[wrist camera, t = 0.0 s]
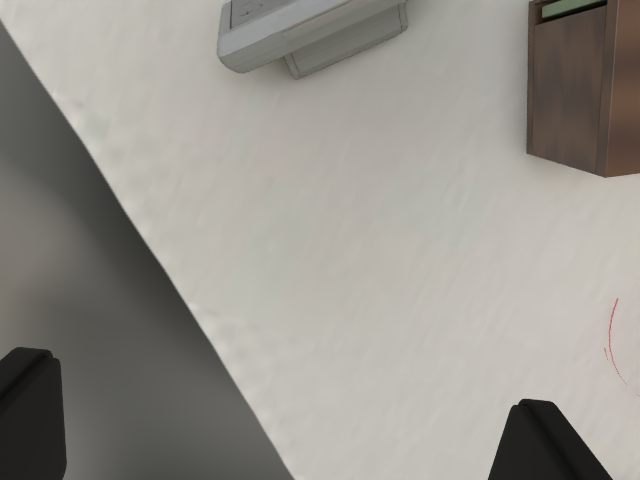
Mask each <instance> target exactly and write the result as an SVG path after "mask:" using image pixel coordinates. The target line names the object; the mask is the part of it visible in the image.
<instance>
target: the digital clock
mask: <svg viewBox="0 0 640 480" xmlns="http://www.w3.org/2000/svg"><path fill="white" fill-rule="evenodd" d="M405 1H407V0H231V1H229V2H228V3H226V4H225V5H224V6H223V7H222V12H221V19H220V26H219V34H218V42H217V56H218V57H219V59H220V61H221V62H222V63H223V64H224V65H225V66H226V67H227V68H229V69H230V70H232V71H235V72H237V73H246V72H249V71H252V70H254V69H256V68H258V67H261V66H263V65H265V64H267V63H270V62H272V61H274V60H276V59H279V58H281V57H283V56H284V57H285V59H286V62H287V64H288V66H289V68H290V71H291V73H292V75H293V77H294V79H296V80H298V79H300V78H302V77H304V76H307V75H309V74H311V73H313V72H316V71H318V70H320V69H322V68H325V67H327V66H329V65H331V64H334V63H336V62H338V61H340V60H343V59H345V58H347V57H349V56H352V55H354V54H356V53H359V52H361V51H363V50H365V49H368V48H370V47H372V46H374V45H377V44H379V43H381V42H383V41H386V40H388V39H390V38H392V37H395V36H397V35H399V34H400V33H402V32H403V31H405V30H406V29H407V27H408V22H407V16H406V5H405Z"/></svg>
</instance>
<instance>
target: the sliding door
mask: <svg viewBox="0 0 640 480" xmlns="http://www.w3.org/2000/svg"><path fill="white" fill-rule="evenodd" d="M606 5H607V0H561V1H558V2H555V3H552V4H549V5H546V6H544V7H542V18H548V17H555V16H562V15H569V14H576V13H581V12H585V11H588V10H592V9H595V8H599V7H603V6H606Z"/></svg>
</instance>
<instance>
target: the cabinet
mask: <svg viewBox="0 0 640 480" xmlns="http://www.w3.org/2000/svg"><path fill="white" fill-rule="evenodd" d="M558 1H561V0H533V1H531V2H529V45H528V108H527V154H530V155H533V156H537V157H540V158H543V159H546V160H550V161H553V162H556V163H559V164H563V165H566V166H569V167H572V168H576V169H579V170H582V171H585V172H589V173H592V174H595V175H598V176H601V177H605V178H607V177H614V176H622V175H630V174H637V173H640V0H607V5H606V6H603V7H599V8H595V9H592V10H588V11H585V12H581V13H576V14H569V15H562V16H555V17H548V18H542V7H544V6H546V5H549V4H552V3H555V2H558Z"/></svg>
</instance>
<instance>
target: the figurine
mask: <svg viewBox="0 0 640 480" xmlns="http://www.w3.org/2000/svg"><path fill="white" fill-rule="evenodd" d="M617 301H618V298H617V300H616V303H615V306H614V309H613V312H612V316H613V313H614V310H615V307H616V304H617ZM612 316H611V322H612ZM611 322H610V328H611ZM610 328H609V347H610ZM604 349H605V348H604ZM605 352H606V350H605ZM610 352H611V348H610ZM606 356H607V355H606ZM611 356H612V353H611ZM607 360H608V359H607ZM612 361H613V358H612ZM613 363H614V362H613ZM614 365H615V364H614ZM615 368H616V366H615ZM616 370H617V369H616ZM617 372H618V371H617ZM618 374H619V373H618ZM620 377H621V376H620ZM622 380H623V379H622ZM623 381H624V380H623ZM625 384H626V383H625ZM638 396H639V395H638Z"/></svg>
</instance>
